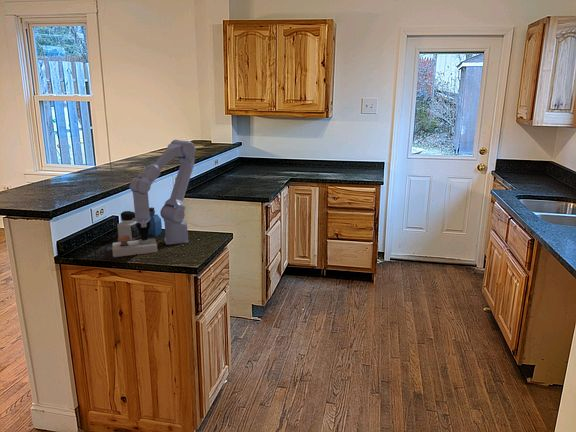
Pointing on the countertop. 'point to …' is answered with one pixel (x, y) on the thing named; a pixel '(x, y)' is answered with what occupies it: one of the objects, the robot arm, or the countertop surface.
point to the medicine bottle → (128, 225)
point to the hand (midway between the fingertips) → (144, 239)
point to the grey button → (144, 241)
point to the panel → (134, 248)
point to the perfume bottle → (154, 223)
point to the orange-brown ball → (123, 240)
